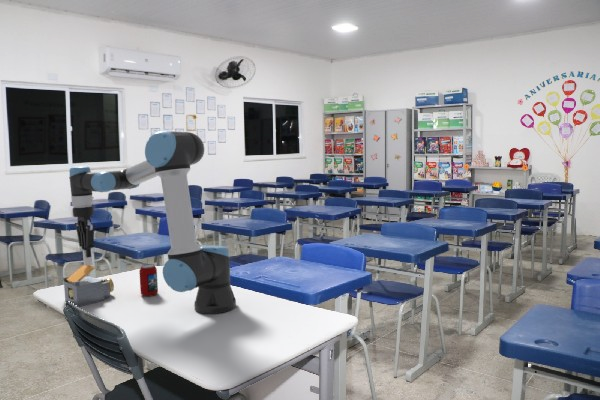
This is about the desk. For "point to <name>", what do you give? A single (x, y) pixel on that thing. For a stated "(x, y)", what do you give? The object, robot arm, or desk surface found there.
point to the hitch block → (86, 290)
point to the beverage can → (148, 280)
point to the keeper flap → (80, 273)
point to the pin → (103, 282)
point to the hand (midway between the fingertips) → (88, 264)
